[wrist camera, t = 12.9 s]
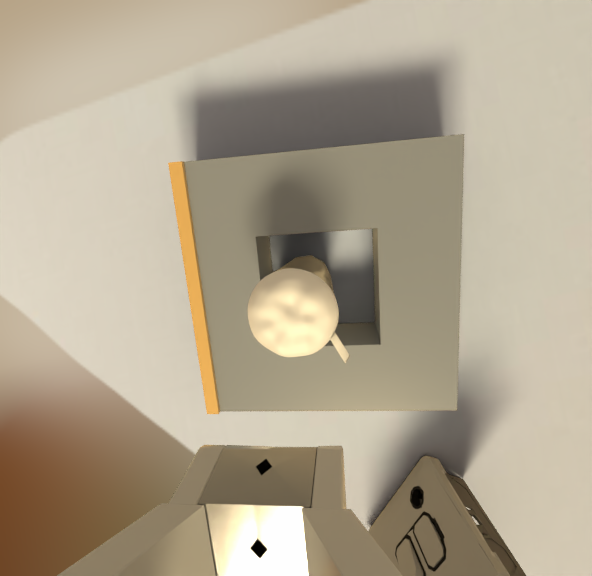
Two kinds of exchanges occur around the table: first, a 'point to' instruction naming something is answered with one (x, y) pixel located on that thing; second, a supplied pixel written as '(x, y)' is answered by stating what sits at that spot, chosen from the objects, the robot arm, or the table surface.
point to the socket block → (323, 218)
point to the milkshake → (296, 309)
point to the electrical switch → (440, 528)
